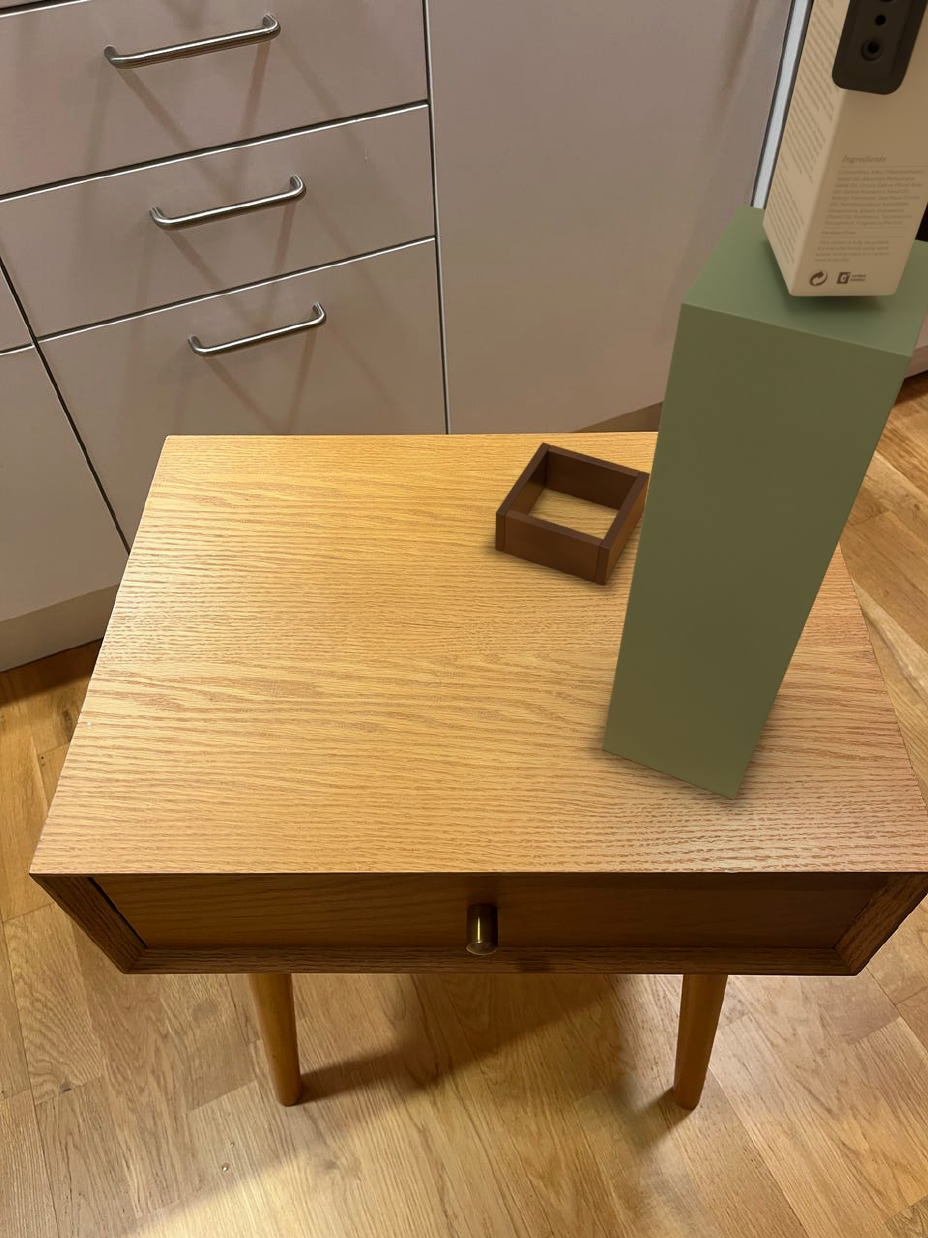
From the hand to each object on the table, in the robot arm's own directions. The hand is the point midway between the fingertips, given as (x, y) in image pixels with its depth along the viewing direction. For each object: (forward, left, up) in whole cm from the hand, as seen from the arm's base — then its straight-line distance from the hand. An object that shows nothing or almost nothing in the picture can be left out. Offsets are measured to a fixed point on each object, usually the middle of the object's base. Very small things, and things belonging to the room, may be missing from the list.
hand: (885, 46), depth 33 cm
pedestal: (0, 0, -42) cm, 42 cm away
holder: (+14, -14, -42) cm, 46 cm away
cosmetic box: (0, 0, -8) cm, 8 cm away
